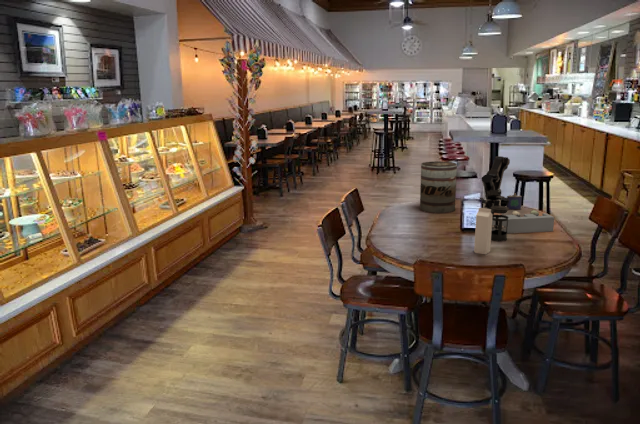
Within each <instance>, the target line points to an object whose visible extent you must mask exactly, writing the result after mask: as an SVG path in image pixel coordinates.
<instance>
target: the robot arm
mask: <svg viewBox="0 0 640 424" xmlns="http://www.w3.org/2000/svg"><path fill="white" fill-rule="evenodd" d="M510 161H511V160H510V158H509V157H507V156H506V157H504V156H499V155H498V156H495V157H494V159H493V164H492V167H491V168H490V169H489V170H488V171H487V172H486V174H484V175H483V176H482V177H481V182H482V185H483V187H484V194H485V195H484V197H485V199H484V197H479V198H480V199H481V200H482V203H481V204H484V208H486V209H491V207H492V206H505V207H507V205H508V203H509V199H508V198H507V197H505V198H501V202H500V200H499V198H497V197H496V196H502V189H501V186H502V181H503V177H504V172H505V171H506V170H507V169H508V166H509V165H510ZM491 210H492V209H491ZM491 213H492V214H493V215H494V213H493V212H491Z"/></svg>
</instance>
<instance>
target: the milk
mask: <svg viewBox="0 0 640 424" xmlns="http://www.w3.org/2000/svg"><path fill="white" fill-rule="evenodd" d="M475 216H476V217H475V232H474V246H473V247H474V248H473V249H474V250H473V253H474V254H475V253H476V254H481V255H487V254H489V253H490V252H491V245H492V244H491V243H492V242H491V241H492V240H491V231H492V216H493V214H492V213H491V209H487V208H486V207H478V211H477V213H476V215H475Z"/></svg>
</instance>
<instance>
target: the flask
mask: <svg viewBox="0 0 640 424" xmlns="http://www.w3.org/2000/svg"><path fill="white" fill-rule="evenodd" d="M506 198H508V199H509V203H508V205H507V206H506V207H508V208H509V209H508V211H520V210H522V198H523V196H522V195H517V194H516V192H515V193H513V194H509V195H507V196H506Z"/></svg>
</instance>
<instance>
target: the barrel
mask: <svg viewBox="0 0 640 424" xmlns="http://www.w3.org/2000/svg"><path fill="white" fill-rule="evenodd" d="M457 172H458V164H457V163H456V162H451V161H440V160H439V161H426V162H422V163H421V164H420V194H419V197H420V198H419V200H420V201H419V210H420V211H421V212H424V213H428V214H437V215H438V214H439V215H440V214H443V215H444V214H451V213H454V212H455V211H456V199H457V198H456V195H457V193H456V191H457V176H458V175H457V174H458V173H457Z"/></svg>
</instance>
